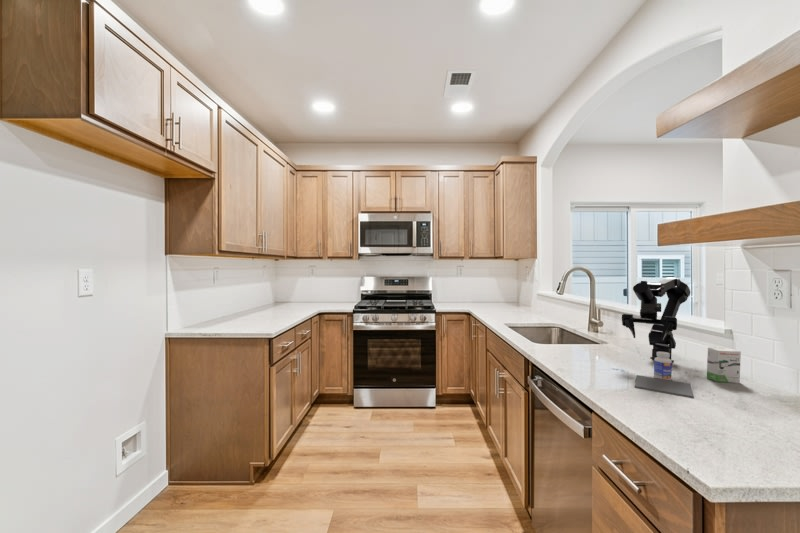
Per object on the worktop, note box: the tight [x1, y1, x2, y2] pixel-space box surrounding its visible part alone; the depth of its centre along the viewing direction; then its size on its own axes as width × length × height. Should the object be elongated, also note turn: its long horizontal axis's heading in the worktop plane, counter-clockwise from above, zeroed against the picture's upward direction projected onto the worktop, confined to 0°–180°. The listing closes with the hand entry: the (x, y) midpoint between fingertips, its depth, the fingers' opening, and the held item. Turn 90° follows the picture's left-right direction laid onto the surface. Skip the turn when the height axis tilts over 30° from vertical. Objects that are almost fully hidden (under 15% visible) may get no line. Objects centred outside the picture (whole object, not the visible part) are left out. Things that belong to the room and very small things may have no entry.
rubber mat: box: [634, 374, 695, 399], centre depth 128 cm, size 16×16×1 cm
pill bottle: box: [653, 352, 673, 381], centre depth 138 cm, size 5×5×10 cm
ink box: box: [706, 346, 742, 384], centre depth 137 cm, size 9×5×12 cm, turn 87°
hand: (648, 338), depth 147 cm, fingers open, 9 cm apart
